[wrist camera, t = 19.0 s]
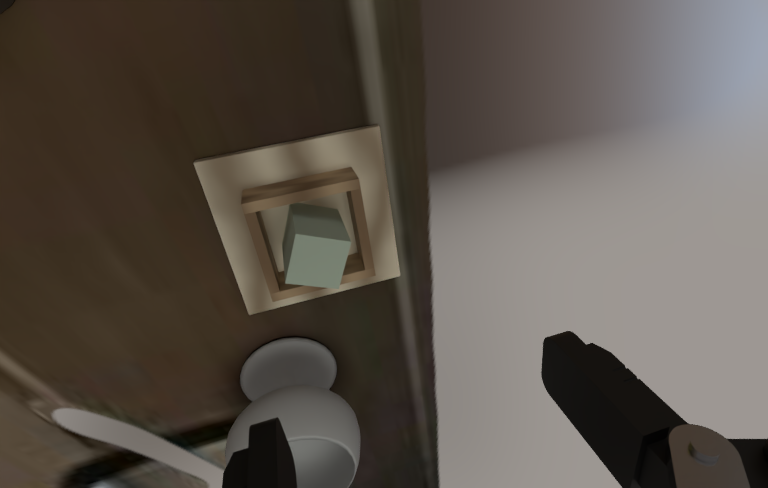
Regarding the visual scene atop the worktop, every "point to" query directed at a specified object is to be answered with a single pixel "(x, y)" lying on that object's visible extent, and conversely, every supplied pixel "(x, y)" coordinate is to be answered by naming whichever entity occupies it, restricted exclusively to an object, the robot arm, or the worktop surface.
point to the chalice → (300, 410)
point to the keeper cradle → (309, 186)
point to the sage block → (314, 246)
